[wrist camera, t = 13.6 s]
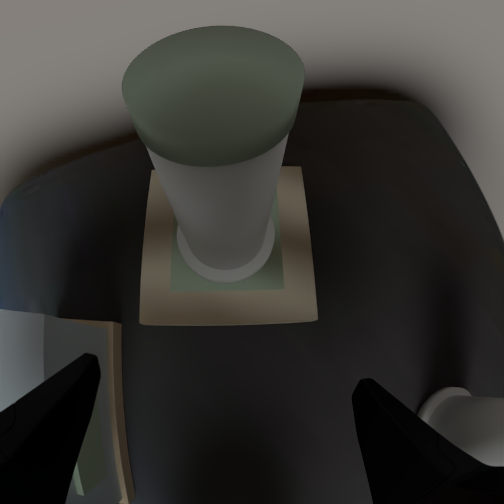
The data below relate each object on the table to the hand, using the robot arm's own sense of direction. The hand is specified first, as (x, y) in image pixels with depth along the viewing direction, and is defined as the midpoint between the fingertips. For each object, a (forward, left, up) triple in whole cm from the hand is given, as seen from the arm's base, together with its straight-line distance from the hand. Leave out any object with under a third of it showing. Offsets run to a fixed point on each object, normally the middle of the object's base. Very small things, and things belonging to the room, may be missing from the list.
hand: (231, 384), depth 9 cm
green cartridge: (+8, 0, -8) cm, 12 cm away
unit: (-4, +10, -9) cm, 14 cm away
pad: (+8, 0, -9) cm, 13 cm away
